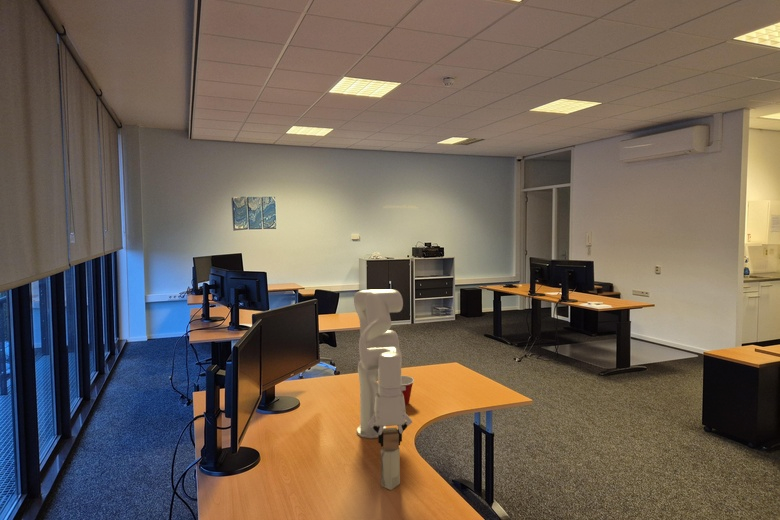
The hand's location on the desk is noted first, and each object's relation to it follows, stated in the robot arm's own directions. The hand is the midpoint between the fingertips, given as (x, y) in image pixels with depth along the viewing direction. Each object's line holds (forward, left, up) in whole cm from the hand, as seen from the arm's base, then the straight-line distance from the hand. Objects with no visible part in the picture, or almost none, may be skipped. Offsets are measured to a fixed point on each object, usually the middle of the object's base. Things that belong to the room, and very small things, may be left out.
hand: (390, 443), depth 156 cm
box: (0, 0, -15) cm, 15 cm away
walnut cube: (0, 0, -1) cm, 1 cm away
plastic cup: (-70, +16, -15) cm, 73 cm away
